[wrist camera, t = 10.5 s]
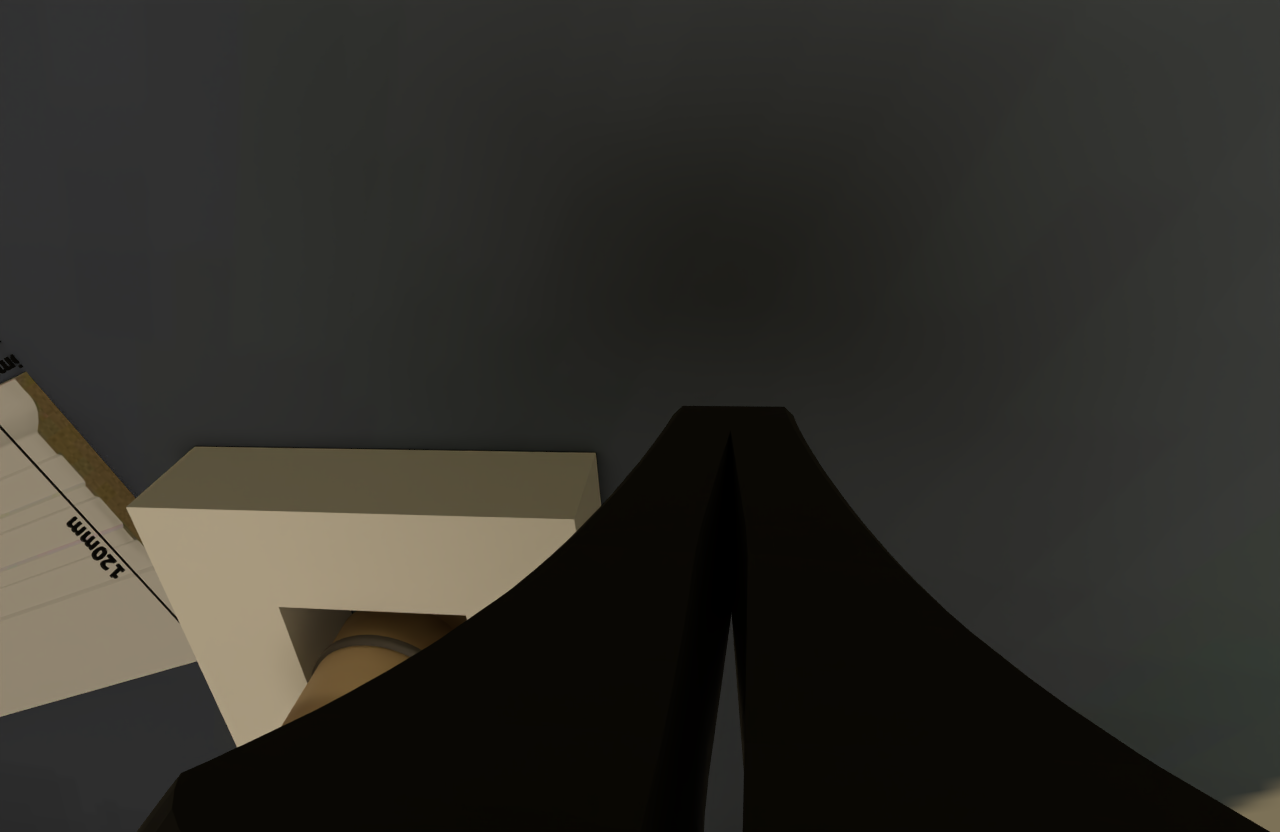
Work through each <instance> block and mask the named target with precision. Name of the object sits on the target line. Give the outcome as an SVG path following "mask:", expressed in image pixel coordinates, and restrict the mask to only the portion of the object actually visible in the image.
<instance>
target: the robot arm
mask: <svg viewBox="0 0 1280 832" xmlns="http://www.w3.org/2000/svg"><path fill="white" fill-rule="evenodd" d="M731 612H732V624H733V637H734V650H735V663H736V676H737V689H738V701H739V714H740V727H741V740H742V752H743V765H744V802H743V832H1269V831H1268V830H1266V829H1264V828H1263V827H1261V826H1259V825H1257V824H1256V823H1254V822H1252V821H1251V820H1249V819H1247V818H1245V817H1244V816H1242V815H1240V814H1239V813H1237V812H1235V811H1234V810H1232V809H1230V808H1229V807H1227V806H1225V805H1223V804H1222V803H1220V802H1218V801H1217V800H1215V799H1213V798H1212V797H1210V796H1208V795H1206V794H1205V793H1203V792H1201V791H1200V790H1198V789H1196V788H1195V787H1193V786H1191V785H1189V784H1188V783H1186V782H1184V781H1183V780H1181V779H1179V778H1178V777H1176V776H1174V775H1172V774H1171V773H1169V772H1167V771H1166V770H1164V769H1162V768H1161V767H1159V766H1157V765H1156V764H1154V763H1153V762H1151V761H1149V760H1148V759H1146V758H1145V757H1143V756H1142V755H1140V754H1138V753H1137V752H1135V751H1134V750H1132V749H1131V748H1129V747H1128V746H1126V745H1125V744H1124V743H1122V742H1121V741H1119V740H1118V739H1116V738H1115V737H1113V736H1112V735H1110V734H1109V733H1107V732H1106V731H1104V730H1103V729H1101V728H1100V727H1098V726H1097V725H1095V724H1094V723H1092V722H1091V721H1089V720H1088V719H1086V718H1085V717H1083V716H1082V715H1080V714H1079V713H1077V712H1076V711H1074V710H1073V709H1071V708H1070V707H1068V706H1067V705H1066V704H1064V703H1063V702H1062V701H1060V700H1059V699H1057V698H1056V697H1055V696H1053V695H1052V694H1050V693H1049V692H1048V691H1046V690H1045V689H1044V688H1042V687H1041V686H1039V685H1038V684H1037V683H1035V682H1034V681H1033V680H1031V679H1030V678H1029V677H1027V676H1026V675H1025V674H1023V673H1022V672H1021V671H1020V670H1018V669H1017V668H1016V667H1015V666H1013V665H1012V664H1011V663H1010V662H1008V661H1007V660H1006V659H1004V658H1003V657H1002V656H1001V655H999V654H998V653H997V652H996V651H994V650H993V649H992V648H991V647H989V646H988V645H987V644H985V643H984V642H983V641H982V640H980V639H979V638H978V637H977V636H975V635H974V634H973V633H972V632H970V631H969V630H968V629H967V628H966V627H964V626H963V625H962V624H961V623H960V622H959V621H957V620H956V619H955V618H954V617H953V616H952V615H951V614H950V613H948V612H947V611H946V610H945V609H944V608H943V607H942V606H941V605H940V604H939V603H938V602H937V601H936V600H935V599H934V598H933V597H932V596H931V595H929V594H928V593H927V592H926V591H925V590H924V589H923V588H922V587H921V586H920V585H919V584H918V583H917V582H916V581H915V580H914V579H913V578H912V577H911V576H910V575H909V574H908V573H907V572H906V571H905V570H904V569H903V568H902V566H901V565H900V564H899V563H898V562H897V561H896V560H895V559H894V558H893V557H892V556H891V555H890V553H889V552H888V551H887V550H886V549H885V548H884V547H883V545H882V544H881V543H880V542H879V541H878V540H877V538H876V537H875V536H874V535H873V534H872V533H871V532H870V530H869V529H868V528H867V527H866V526H865V524H864V523H863V522H862V521H861V519H860V518H859V517H858V516H857V514H856V513H855V512H854V511H853V509H852V508H851V507H850V506H849V504H848V503H847V501H846V500H845V499H844V497H843V496H842V495H841V493H840V492H839V491H838V489H837V488H836V486H835V485H834V484H833V482H832V481H831V480H830V478H829V477H828V475H827V474H826V472H825V471H824V470H823V468H822V467H821V465H820V464H819V462H818V460H817V459H816V457H815V456H814V454H813V452H812V451H811V449H810V448H809V446H808V444H807V442H806V441H805V439H804V437H803V435H802V434H801V432H800V430H799V428H798V426H797V424H796V421H795V419H794V416H793V415H792V414H791V413H790V412H789V411H788V410H787V409H786V408H785V407H738V406H682V407H681V408H680V409H679V410H678V411H677V412H676V413H675V414H674V415H673V416H672V418H671V419H670V421H669V422H668V424H667V425H666V427H665V428H664V430H663V431H662V433H661V434H660V435H659V437H658V438H657V439H656V441H655V442H654V444H653V445H652V446H651V447H650V449H649V450H648V451H647V453H646V454H645V455H644V457H643V458H642V459H641V460H640V462H639V463H638V464H637V465H636V466H635V468H634V469H633V470H632V471H631V472H630V474H629V475H628V476H627V477H626V478H625V479H624V481H623V482H622V483H621V484H620V485H619V487H618V488H617V489H616V490H615V491H614V492H613V494H612V495H611V496H610V497H609V498H608V499H607V500H606V501H605V502H604V503H603V504H602V505H601V506H600V507H599V508H598V510H597V511H596V512H595V513H594V514H593V515H592V516H591V517H590V518H589V519H588V520H587V521H586V522H585V523H584V524H583V525H582V526H581V527H580V528H579V529H578V530H577V531H576V532H575V533H574V534H573V535H572V536H571V537H570V538H569V539H568V540H567V541H566V542H565V543H564V544H563V545H562V546H561V547H560V548H558V549H557V550H556V551H555V552H554V553H553V554H552V555H551V556H550V557H549V558H547V559H546V560H545V561H544V562H543V563H542V564H541V565H539V566H538V567H537V568H536V569H535V570H534V571H532V572H531V573H530V574H529V575H528V576H526V577H525V578H524V579H523V580H521V581H520V582H519V583H518V584H517V585H515V586H514V587H513V588H512V589H510V590H509V591H508V592H506V593H505V594H504V595H502V596H501V597H499V598H498V599H497V600H495V601H494V602H492V603H491V604H489V605H488V606H486V607H485V608H484V609H482V610H481V611H479V612H478V613H476V614H475V615H473V616H472V617H471V618H469V619H468V620H466V621H465V622H463V623H462V624H460V625H459V626H458V627H456V628H455V629H453V630H452V631H450V632H449V633H447V634H446V635H445V636H443V637H442V638H440V639H439V640H437V641H436V642H434V643H432V644H431V645H429V646H428V647H426V648H424V649H423V650H421V651H419V652H418V653H416V654H414V655H413V656H411V657H410V658H408V659H406V660H405V661H403V662H401V663H400V664H398V665H396V666H395V667H393V668H391V669H390V670H388V671H386V672H384V673H382V674H381V675H379V676H377V677H375V678H373V679H372V680H370V681H368V682H366V683H365V684H363V685H361V686H359V687H357V688H356V689H354V690H352V691H350V692H348V693H347V694H345V695H343V696H341V697H339V698H337V699H335V700H333V701H332V702H330V703H328V704H326V705H324V706H322V707H320V708H318V709H316V710H314V711H312V712H310V713H308V714H306V715H304V716H302V717H300V718H298V719H296V720H294V721H292V722H290V723H287V724H285V725H283V726H281V727H279V728H277V729H275V730H273V731H271V732H269V733H267V734H264V735H262V736H260V737H258V738H256V739H254V740H252V741H250V742H248V743H246V744H244V745H241V746H239V747H237V748H235V749H233V750H231V751H229V752H227V753H225V754H223V755H221V756H218V757H216V758H214V759H212V760H210V761H208V762H205V763H203V764H201V765H199V766H196V767H194V768H192V769H189V770H187V771H185V772H183V773H181V774H180V775H179V777H178V778H177V779H176V780H175V782H174V783H173V784H172V786H171V787H170V788H169V789H168V791H167V792H166V793H165V795H164V796H163V797H162V799H161V800H160V801H159V803H158V804H157V805H156V807H155V808H154V809H153V811H152V812H151V813H150V815H149V816H148V817H147V819H146V820H145V821H144V823H143V824H142V825H141V827H140V828H139V829H138V831H137V832H704V817H705V806H706V796H707V786H708V776H709V769H710V762H711V755H712V748H713V741H714V734H715V726H716V719H717V712H718V705H719V698H720V691H721V684H722V677H723V670H724V663H725V656H726V649H727V641H728V634H729V627H730V620H731Z"/></svg>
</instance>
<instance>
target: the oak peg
mask: <svg viewBox="0 0 1280 832" xmlns="http://www.w3.org/2000/svg"><path fill="white" fill-rule="evenodd" d="M466 620H467V618H466V615H445V614H423V613H401V612H379V611H356V612H354V613H353V614H352V615H351V616H350V617H349V618H348V619H347V620H346V622H345V623H344V625H343V626H342V628H341V630H340V631H339V633H338V635H337V636H336V638H335V639H334V641H333V643H332V644H331V645H329V646H328V647H327V648H326V649H325V650H324V651H323V653H322V654H321V655H320V657H319V658H318V660H317V662H316V663H315V666H314V668H313V671H312V676H311V678H310V680H309V682H308V683H307V685H306V687H305V688H304V690H303V692H302V693H301V695H300V696H299V698H298V700H297V701H296V703H295V705H294V706H293V708H292V709H291V711H290V713H289V714H288V716H287V718H286V719H285V721H284V722H283V724H282V726H283V725H285V724H287V723H290V722H292V721H294V720H296V719H298V718H300V717H302V716H304V715H306V714H308V713H310V712H312V711H314V710H316V709H318V708H320V707H322V706H324V705H326V704H328V703H330V702H332V701H333V700H335V699H337V698H339V697H341V696H343V695H345V694H347V693H348V692H350V691H352V690H354V689H356V688H357V687H359V686H361V685H363V684H365V683H366V682H368V681H370V680H372V679H373V678H375V677H377V676H379V675H381V674H382V673H384V672H386V671H388V670H390V669H391V668H393V667H395V666H396V665H398V664H400V663H401V662H403V661H405V660H406V659H408V658H410V657H411V656H413V655H414V654H416V653H418V652H419V651H421V650H423V649H424V648H426V647H428V646H429V645H431V644H432V643H434V642H436V641H437V640H439V639H440V638H442V637H443V636H445V635H446V634H447V633H449V632H450V631H452V630H453V629H455V628H456V627H458V626H459V625H460V624H462V623H463V622H465V621H466Z"/></svg>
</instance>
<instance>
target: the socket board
mask: <svg viewBox="0 0 1280 832" xmlns="http://www.w3.org/2000/svg"><path fill="white" fill-rule="evenodd" d="M600 506H601V499H600V489H599V480H598V470H597V460H596V453H577V452H512V451H448V450H383V449H318V448H254V447H194V448H193V449H191V450H190V451H189V452H188V453H187V454H186V455H185V456H184V457H182V458H181V459H180V460H179V461H178V462H177V463H176V464H174V465H173V466H172V467H171V468H170V469H169V470H168V471H166V472H165V473H164V474H163V475H162V476H161V477H160V478H158V479H157V480H156V481H155V482H154V483H153V484H152V485H151V486H149V487H148V488H147V489H146V490H145V491H144V492H143V493H141V494H140V495H139V496H138V497H137V498H136V499H135V500H133V501H132V502H131V503H130V504H129V505H128V506H127V507H126V508H127V511H128V513H129V515H130V517H131V519H132V521H133V524H134V526H135V528H136V530H137V532H138V534H139V536H140V539H141V541H142V543H143V545H144V547H145V549H146V552H147V554H148V556H149V558H150V560H151V562H152V564H153V567H154V569H155V571H156V573H157V575H158V577H159V580H160V582H161V584H162V586H163V588H164V590H165V593H166V595H167V597H168V599H169V601H170V603H171V605H172V608H173V610H174V612H175V614H176V616H177V618H178V621H179V623H180V625H181V627H182V629H183V631H184V633H185V636H186V638H187V640H188V642H189V644H190V646H191V649H192V651H193V653H194V655H195V657H196V659H197V662H198V664H199V666H200V668H201V670H202V672H203V674H204V677H205V679H206V681H207V683H208V685H209V687H210V690H211V692H212V694H213V696H214V698H215V700H216V702H217V705H218V707H219V709H220V711H221V713H222V715H223V718H224V720H225V722H226V724H227V726H228V728H229V731H230V733H231V735H232V737H233V739H234V741H235V743H236V746H237V747H239V746H241V745H244V744H246V743H248V742H250V741H252V740H254V739H256V738H258V737H260V736H262V735H264V734H267V733H269V732H271V731H273V730H275V729H277V728H279V727H281V726H282V724H283V722H284V721H285V719H286V718H287V716H288V714H289V713H290V711H291V709H292V708H293V706H294V705H295V703H296V701H297V700H298V698H299V696H300V695H301V693H302V692H303V690H304V688H305V687H306V685H307V683H308V682H309V680H310V678H311V676H312V671H313V668H314V666H315V663H316V662H317V660H318V658H319V657H320V655H321V654H322V653H323V651H324V650H325V649H326V648H327V647H328V646H329V645H331V644H332V643H333V641H334V639H335V638H336V636H337V635H338V633H339V631H340V630H341V628H342V626H343V625H344V623H345V622H346V620H347V619H348V618H349V617H350V616H351V615H352V612H351V610H356V611H379V612H401V613H423V614H445V615H466V618H467V620H468V619H469V618H471V617H472V616H473V615H475V614H476V613H478V612H479V611H481V610H482V609H484V608H485V607H486V606H488V605H489V604H491V603H492V602H494V601H495V600H497V599H498V598H499V597H501V596H502V595H504V594H505V593H506V592H508V591H509V590H510V589H512V588H513V587H514V586H515V585H517V584H518V583H519V582H520V581H521V580H523V579H524V578H525V577H526V576H528V575H529V574H530V573H531V572H532V571H534V570H535V569H536V568H537V567H538V566H539V565H541V564H542V563H543V562H544V561H545V560H546V559H547V558H549V557H550V556H551V555H552V554H553V553H554V552H555V551H556V550H557V549H558V548H560V547H561V546H562V545H563V544H564V543H565V542H566V541H567V540H568V539H569V538H570V537H571V536H572V535H573V534H574V533H575V532H576V531H577V530H578V529H579V528H580V527H581V526H582V525H583V524H584V523H585V522H586V521H587V520H588V519H589V518H590V517H591V516H592V515H593V514H594V513H595V512H596V511H597V510H598V508H599V507H600Z"/></svg>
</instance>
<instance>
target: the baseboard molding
mask: <svg viewBox="0 0 1280 832" xmlns="http://www.w3.org/2000/svg"><path fill="white" fill-rule="evenodd" d="M0 342H1V341H0ZM10 358H11V360H12V361H13V362H14V363H19V361H18V360H17V359H16V358H15V357H14V355H13V354H11V356H10ZM4 360H5V361H6V362H7V363H8V364H9V365H10V366H9V367H8V366H7V365H6V364H5V362H4V361H3V360H1V361H0V364H1V365H2V366H3V368H4V370H3V369H2V368H1V367H0V373H2V374H3V373H5V372H6V371H7V370H11V369H12V368H14V367H15V365H14V364H13V363H12V361H11V360H10V359H9V358H8V357H6V358H4ZM22 367H23V366H22V365H19V368H22ZM135 499H136V498H135V497H134V496H133V495H132V494H131V492H130V491H129V490H128V489H127V488H126V487H125V486H124V484H123V483H122V482H121V481H120V480H119V479H118V477H117V476H116V475H115V474H114V473H113V472H112V471H111V469H110V468H109V467H108V466H107V465H106V464H105V462H104V461H103V460H102V459H101V458H100V457H99V456H98V454H97V453H96V452H95V451H94V450H93V449H92V447H91V446H90V445H89V444H88V443H87V442H86V441H85V439H84V438H83V437H82V436H81V435H80V434H79V432H78V431H77V430H76V429H75V428H74V427H73V426H72V424H71V423H70V422H69V421H68V420H67V419H66V417H65V416H64V415H63V414H62V413H61V412H60V411H59V409H58V408H57V407H56V406H55V405H54V404H53V402H52V401H51V400H50V399H49V398H48V397H47V395H46V394H45V393H44V392H43V391H42V390H41V389H40V387H39V386H38V385H37V384H36V383H35V382H34V380H33V379H32V378H31V377H30V376H29V375H28V374H27V372H25V373H22V374H20V375H18V376H16V377H14V378H12V379H10V380H8V381H6V382H4V383H1V384H0V717H1V716H4V715H8V714H11V713H15V712H18V711H22V710H26V709H29V708H33V707H36V706H40V705H43V704H47V703H50V702H54V701H57V700H61V699H65V698H68V697H72V696H75V695H79V694H82V693H86V692H89V691H93V690H96V689H100V688H103V687H107V686H111V685H114V684H118V683H121V682H125V681H128V680H132V679H135V678H139V677H142V676H146V675H150V674H153V673H157V672H160V671H164V670H167V669H171V668H174V667H178V666H181V665H185V664H188V663H192V662H196V661H197V659H196V657H195V655H194V653H193V651H192V649H191V646H190V644H189V642H188V640H187V638H186V636H185V633H184V631H183V629H182V627H181V625H180V623H179V621H178V618H177V616H176V614H175V612H174V610H173V608H172V605H171V603H170V601H169V599H168V597H167V595H166V593H165V590H164V588H163V586H162V584H161V582H160V580H159V577H158V575H157V573H156V571H155V569H154V567H153V564H152V562H151V560H150V558H149V556H148V554H147V552H146V549H145V547H144V545H143V543H142V541H141V539H140V536H139V534H138V532H137V530H136V528H135V526H134V524H133V521H132V519H131V517H130V515H129V513H128V511H127V508H126V507H127V506H128V505H129V504H130V503H131V502H132V501H133V500H135Z"/></svg>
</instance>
